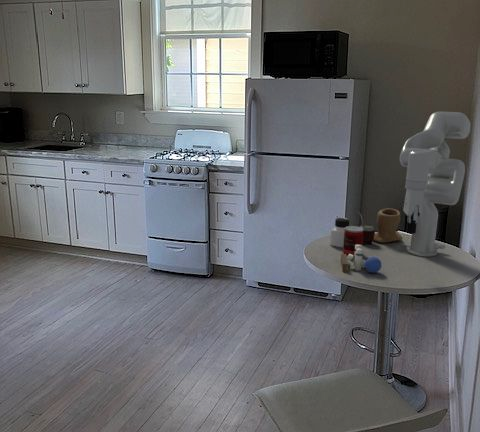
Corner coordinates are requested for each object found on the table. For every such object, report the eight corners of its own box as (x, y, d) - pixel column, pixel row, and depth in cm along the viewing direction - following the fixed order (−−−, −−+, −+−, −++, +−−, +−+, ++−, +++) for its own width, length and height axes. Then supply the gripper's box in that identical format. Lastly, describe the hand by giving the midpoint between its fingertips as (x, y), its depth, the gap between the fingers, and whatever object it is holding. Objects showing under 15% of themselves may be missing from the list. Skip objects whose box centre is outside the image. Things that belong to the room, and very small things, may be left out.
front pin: (367, 261, 198) (349, 253, 198) (369, 262, 196) (350, 254, 196) (365, 267, 198) (346, 258, 198) (366, 268, 196) (347, 259, 196)
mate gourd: (375, 242, 230) (378, 210, 227) (370, 246, 224) (373, 213, 220) (359, 239, 234) (362, 207, 231) (353, 243, 228) (356, 211, 224)
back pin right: (358, 263, 202) (360, 244, 200) (360, 265, 199) (362, 246, 197) (352, 263, 201) (354, 244, 199) (354, 266, 199) (356, 246, 197)
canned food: (360, 251, 218) (362, 226, 215) (362, 257, 210) (364, 231, 207) (341, 250, 218) (343, 225, 216) (343, 256, 211) (345, 230, 208)
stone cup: (382, 246, 225) (385, 213, 222) (365, 238, 236) (368, 207, 232) (409, 243, 231) (413, 211, 227) (392, 236, 242) (395, 205, 238)
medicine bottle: (345, 248, 221) (347, 221, 218) (329, 245, 224) (331, 219, 221) (350, 244, 227) (353, 218, 224) (335, 241, 230) (337, 215, 227)
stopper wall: (345, 261, 204) (346, 254, 203) (347, 271, 193) (348, 264, 192) (340, 260, 204) (341, 253, 204) (342, 271, 193) (343, 263, 192)
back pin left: (359, 268, 197) (361, 248, 195) (362, 270, 194) (363, 250, 192) (353, 268, 196) (355, 248, 194) (355, 270, 194) (357, 250, 192)
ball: (363, 262, 197) (377, 255, 195) (370, 276, 194) (385, 269, 193) (361, 260, 191) (375, 253, 190) (368, 274, 189) (383, 267, 188)
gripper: (402, 180, 195) (397, 227, 200) (409, 188, 181) (404, 237, 185) (422, 181, 194) (416, 228, 199) (431, 189, 180) (425, 239, 184)
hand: (410, 232), depth 192 cm, fingers closed
